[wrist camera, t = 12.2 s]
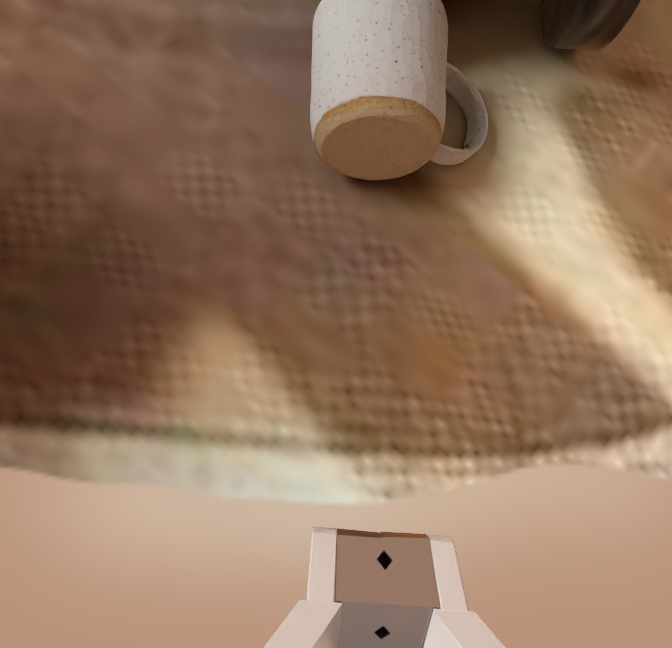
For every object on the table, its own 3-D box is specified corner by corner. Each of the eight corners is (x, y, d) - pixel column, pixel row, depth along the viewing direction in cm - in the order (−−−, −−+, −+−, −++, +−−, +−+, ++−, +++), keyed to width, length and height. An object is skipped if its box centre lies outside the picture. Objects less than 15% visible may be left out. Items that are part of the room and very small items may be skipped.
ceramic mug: (309, 188, 29) (307, 93, 22) (313, 76, 32) (312, -43, 24) (484, 194, 30) (540, 103, 22) (475, 83, 32) (523, -32, 25)
